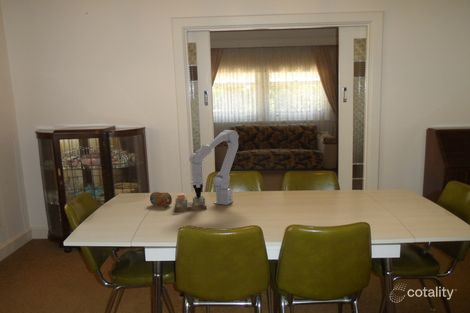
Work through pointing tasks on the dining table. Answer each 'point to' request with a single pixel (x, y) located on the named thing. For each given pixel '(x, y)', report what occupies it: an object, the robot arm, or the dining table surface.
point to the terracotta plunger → (181, 196)
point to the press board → (190, 204)
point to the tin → (160, 199)
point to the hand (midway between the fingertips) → (198, 197)
